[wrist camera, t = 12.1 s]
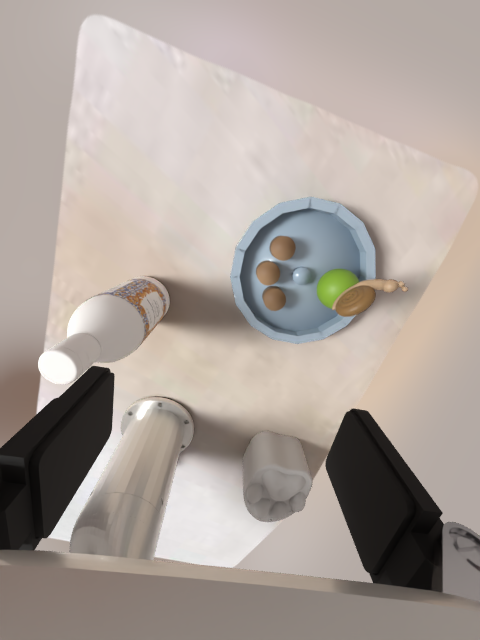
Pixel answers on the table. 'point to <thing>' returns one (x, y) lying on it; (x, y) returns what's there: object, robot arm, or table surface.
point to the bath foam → (106, 328)
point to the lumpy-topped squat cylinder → (275, 476)
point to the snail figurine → (351, 291)
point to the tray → (300, 267)
